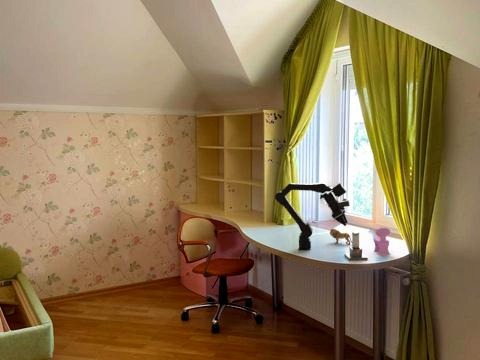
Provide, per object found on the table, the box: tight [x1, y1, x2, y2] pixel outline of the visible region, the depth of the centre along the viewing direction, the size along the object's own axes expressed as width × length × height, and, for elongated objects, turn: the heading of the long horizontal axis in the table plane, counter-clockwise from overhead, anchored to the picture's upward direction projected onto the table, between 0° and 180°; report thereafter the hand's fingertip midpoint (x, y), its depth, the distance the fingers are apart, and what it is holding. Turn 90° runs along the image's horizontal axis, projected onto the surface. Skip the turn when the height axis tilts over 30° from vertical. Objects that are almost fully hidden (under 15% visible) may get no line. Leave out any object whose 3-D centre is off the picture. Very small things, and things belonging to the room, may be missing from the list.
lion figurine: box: [329, 228, 352, 245], centre depth 286 cm, size 15×5×9 cm, turn 66°
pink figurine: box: [373, 227, 391, 256], centre depth 260 cm, size 8×9×15 cm
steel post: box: [351, 231, 360, 249], centre depth 251 cm, size 4×4×12 cm
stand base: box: [343, 246, 369, 262], centre depth 252 cm, size 10×10×6 cm
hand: (346, 224), depth 268 cm, fingers open, 9 cm apart
